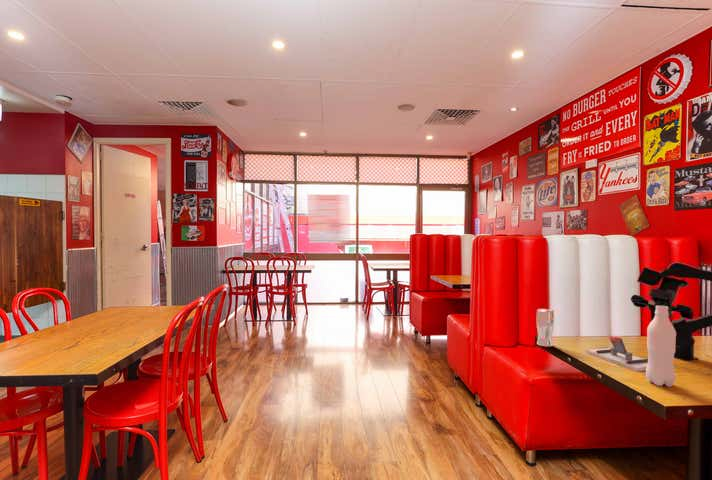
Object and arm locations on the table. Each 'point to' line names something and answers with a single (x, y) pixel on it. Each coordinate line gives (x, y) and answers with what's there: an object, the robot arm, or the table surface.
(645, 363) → the plate
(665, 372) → the water bottle
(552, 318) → the beer glass
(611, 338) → the lever
